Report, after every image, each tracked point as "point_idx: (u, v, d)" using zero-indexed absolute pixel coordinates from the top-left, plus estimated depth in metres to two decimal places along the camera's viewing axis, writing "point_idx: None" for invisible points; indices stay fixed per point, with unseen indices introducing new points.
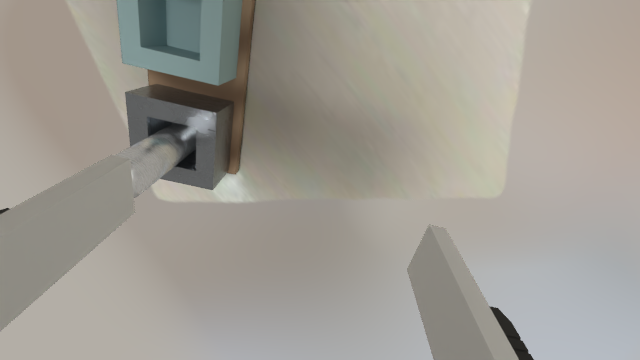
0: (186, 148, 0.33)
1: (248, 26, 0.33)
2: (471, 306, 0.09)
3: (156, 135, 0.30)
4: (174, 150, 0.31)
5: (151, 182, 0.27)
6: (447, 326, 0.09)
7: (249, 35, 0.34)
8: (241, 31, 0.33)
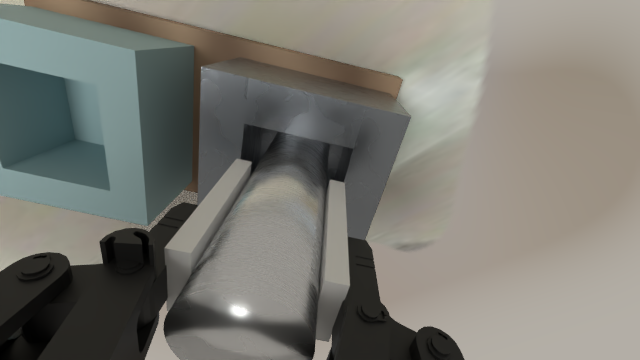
0: (288, 155, 0.14)
1: (97, 6, 0.17)
2: (330, 232, 0.10)
3: None
4: (265, 176, 0.12)
5: (281, 257, 0.08)
6: None
7: (119, 9, 0.18)
8: (109, 21, 0.18)
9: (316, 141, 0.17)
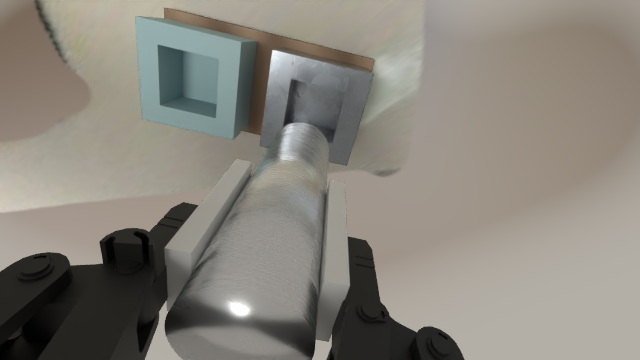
0: (288, 155, 0.14)
1: (205, 18, 0.32)
2: (330, 232, 0.10)
3: None
4: (265, 175, 0.12)
5: (281, 256, 0.08)
6: None
7: (215, 20, 0.32)
8: (210, 27, 0.32)
9: (316, 141, 0.17)
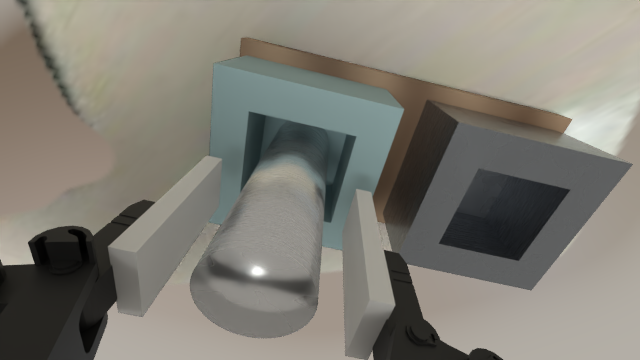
0: (292, 144, 0.15)
1: (306, 55, 0.20)
2: (366, 246, 0.10)
3: None
4: (272, 162, 0.13)
5: (289, 225, 0.09)
6: (352, 267, 0.11)
7: (321, 56, 0.20)
8: (313, 68, 0.20)
9: (317, 133, 0.19)
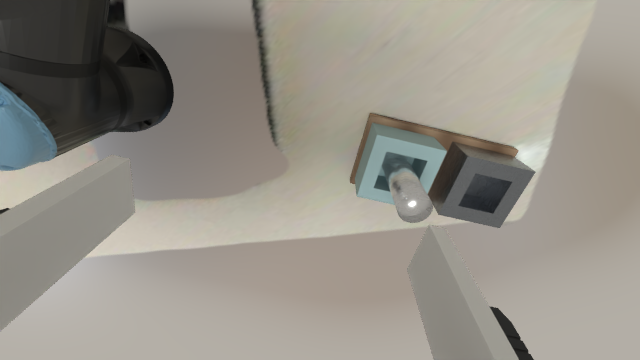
0: (403, 164, 0.40)
1: (399, 122, 0.44)
2: (471, 306, 0.09)
3: (388, 182, 0.39)
4: (402, 171, 0.38)
5: (422, 189, 0.34)
6: (447, 326, 0.09)
7: (404, 122, 0.44)
8: (401, 128, 0.44)
9: (406, 158, 0.43)
